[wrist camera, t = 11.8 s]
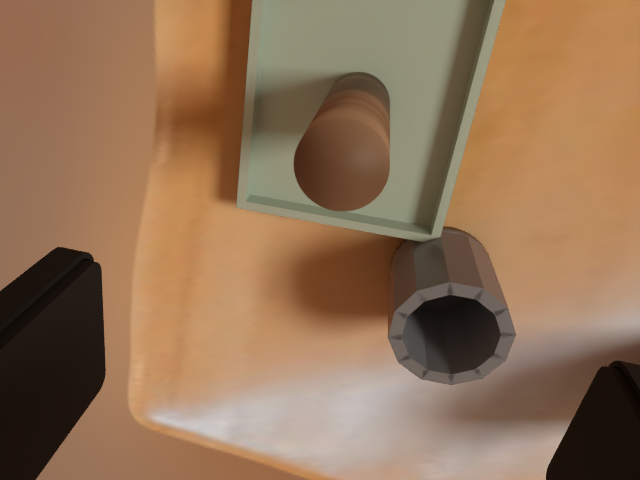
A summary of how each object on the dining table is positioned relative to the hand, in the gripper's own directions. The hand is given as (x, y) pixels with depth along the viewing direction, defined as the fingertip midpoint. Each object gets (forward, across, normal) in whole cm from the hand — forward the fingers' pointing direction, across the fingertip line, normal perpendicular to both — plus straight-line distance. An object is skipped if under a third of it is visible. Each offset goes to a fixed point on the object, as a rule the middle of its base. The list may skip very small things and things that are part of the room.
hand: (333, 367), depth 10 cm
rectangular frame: (+26, +1, +1) cm, 27 cm away
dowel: (+26, +1, +1) cm, 26 cm away
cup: (+26, -7, +12) cm, 30 cm away
